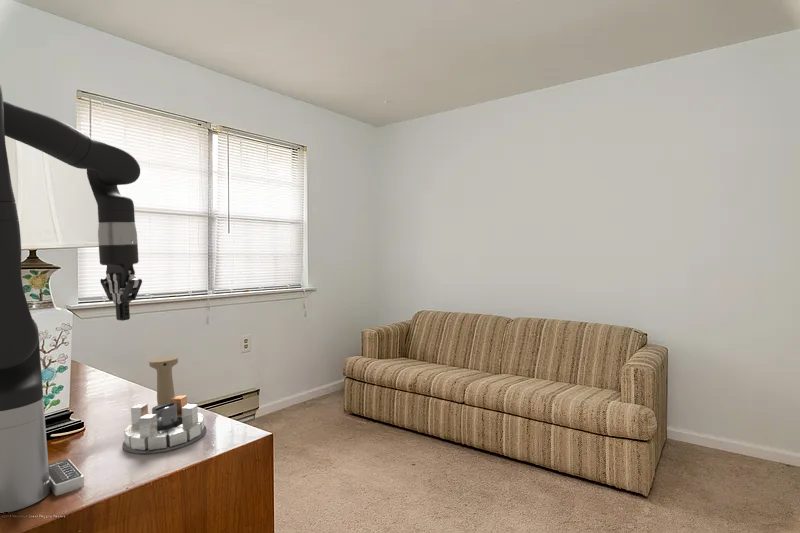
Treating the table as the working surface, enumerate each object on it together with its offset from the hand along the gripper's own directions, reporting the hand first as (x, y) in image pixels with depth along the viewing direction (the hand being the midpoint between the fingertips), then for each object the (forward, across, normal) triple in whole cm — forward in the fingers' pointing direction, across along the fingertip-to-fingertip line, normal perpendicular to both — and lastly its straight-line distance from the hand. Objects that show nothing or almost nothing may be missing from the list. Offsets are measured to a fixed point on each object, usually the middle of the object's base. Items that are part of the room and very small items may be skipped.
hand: (123, 319), depth 107 cm
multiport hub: (+28, -9, +18) cm, 34 cm away
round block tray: (+27, -8, -4) cm, 28 cm away
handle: (+27, +3, -11) cm, 29 cm away
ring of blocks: (+27, -8, -4) cm, 28 cm away
